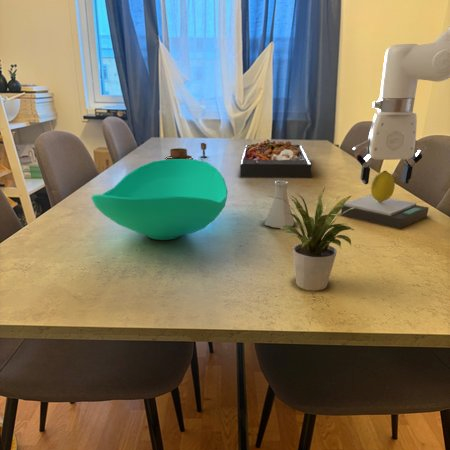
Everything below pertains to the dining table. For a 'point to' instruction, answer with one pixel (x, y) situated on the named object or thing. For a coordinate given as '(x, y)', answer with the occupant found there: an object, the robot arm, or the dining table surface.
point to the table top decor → (166, 198)
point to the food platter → (275, 160)
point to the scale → (384, 211)
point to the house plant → (316, 244)
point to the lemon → (382, 186)
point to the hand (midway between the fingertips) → (384, 182)
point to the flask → (280, 208)
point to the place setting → (184, 153)
